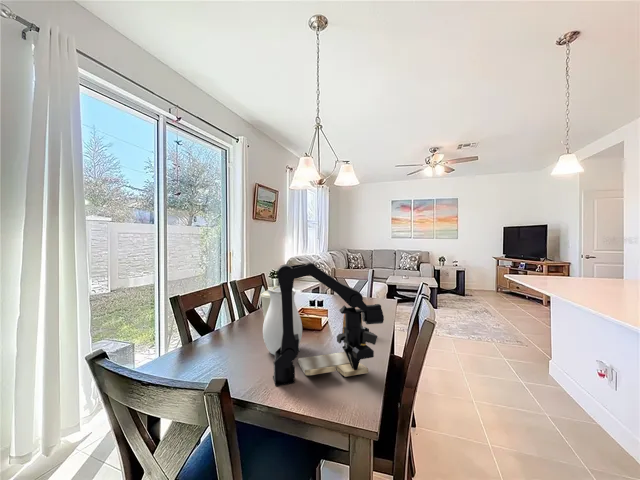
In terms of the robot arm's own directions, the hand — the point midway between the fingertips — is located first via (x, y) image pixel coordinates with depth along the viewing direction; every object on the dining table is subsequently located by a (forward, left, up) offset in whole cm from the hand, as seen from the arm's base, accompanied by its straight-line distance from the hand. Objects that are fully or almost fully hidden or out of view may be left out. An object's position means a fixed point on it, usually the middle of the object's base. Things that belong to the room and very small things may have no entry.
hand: (354, 369), depth 101 cm
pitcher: (-18, +33, -3) cm, 38 cm away
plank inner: (-12, +2, -1) cm, 12 cm away
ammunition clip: (+16, +36, -3) cm, 39 cm away
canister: (-16, +71, -3) cm, 73 cm away
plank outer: (0, +2, -2) cm, 3 cm away
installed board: (-6, +12, -3) cm, 14 cm away
